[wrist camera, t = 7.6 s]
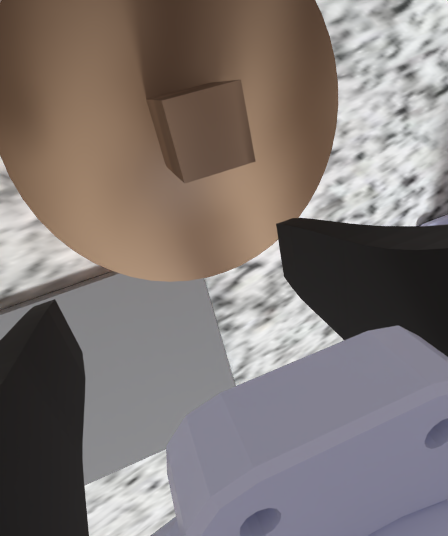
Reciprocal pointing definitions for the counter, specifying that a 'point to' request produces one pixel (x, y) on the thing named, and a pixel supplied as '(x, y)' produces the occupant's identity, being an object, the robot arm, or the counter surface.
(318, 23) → the lid
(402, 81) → the counter surface
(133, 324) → the mat
